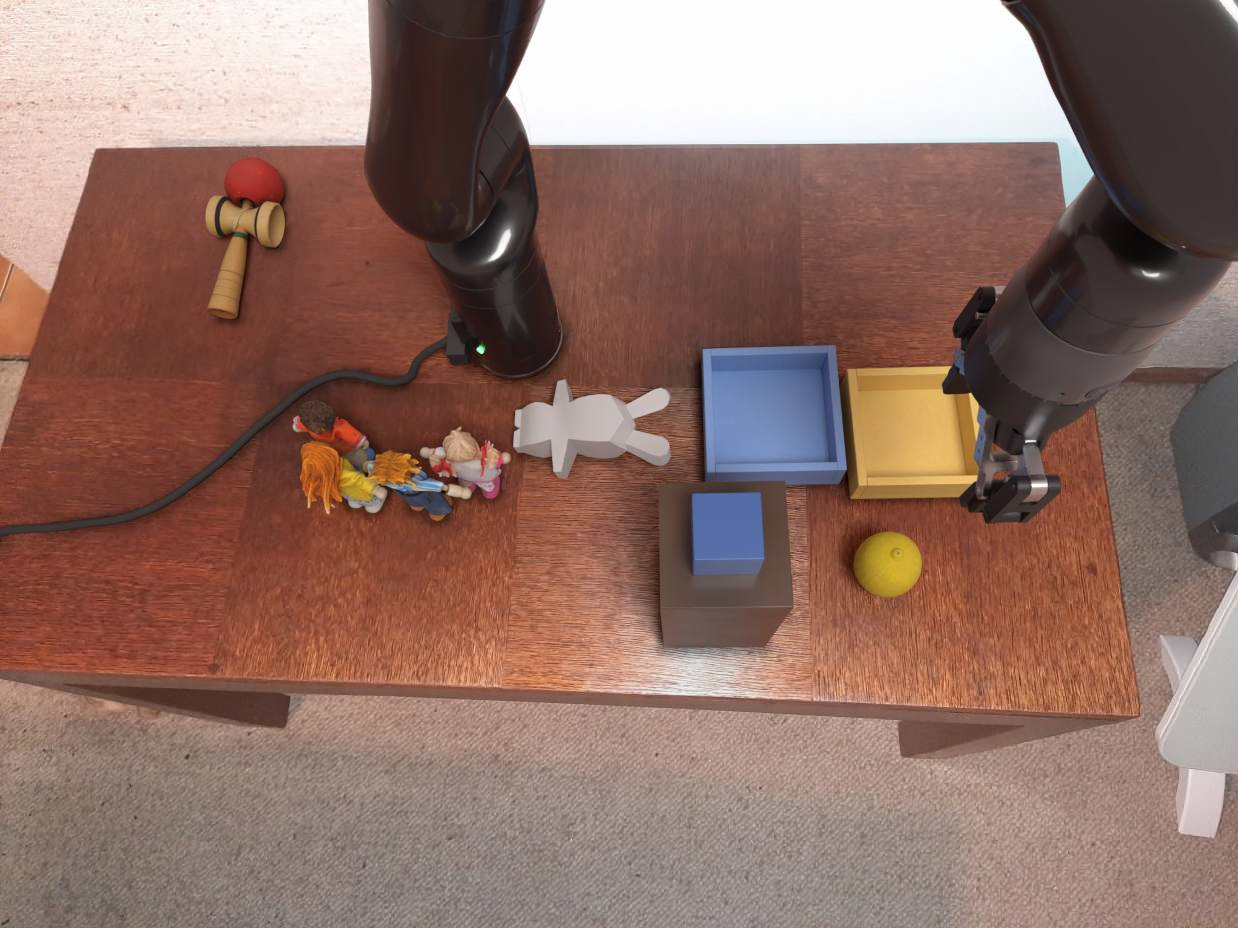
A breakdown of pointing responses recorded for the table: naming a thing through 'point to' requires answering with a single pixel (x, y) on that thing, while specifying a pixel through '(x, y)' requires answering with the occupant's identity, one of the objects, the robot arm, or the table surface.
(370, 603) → the table surface
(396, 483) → the doll family
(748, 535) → the blue block
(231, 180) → the kendama
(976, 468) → the yellow bin
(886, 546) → the lemon
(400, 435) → the table surface
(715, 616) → the stand
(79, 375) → the table surface
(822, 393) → the blue bin
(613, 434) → the bunny figurine
